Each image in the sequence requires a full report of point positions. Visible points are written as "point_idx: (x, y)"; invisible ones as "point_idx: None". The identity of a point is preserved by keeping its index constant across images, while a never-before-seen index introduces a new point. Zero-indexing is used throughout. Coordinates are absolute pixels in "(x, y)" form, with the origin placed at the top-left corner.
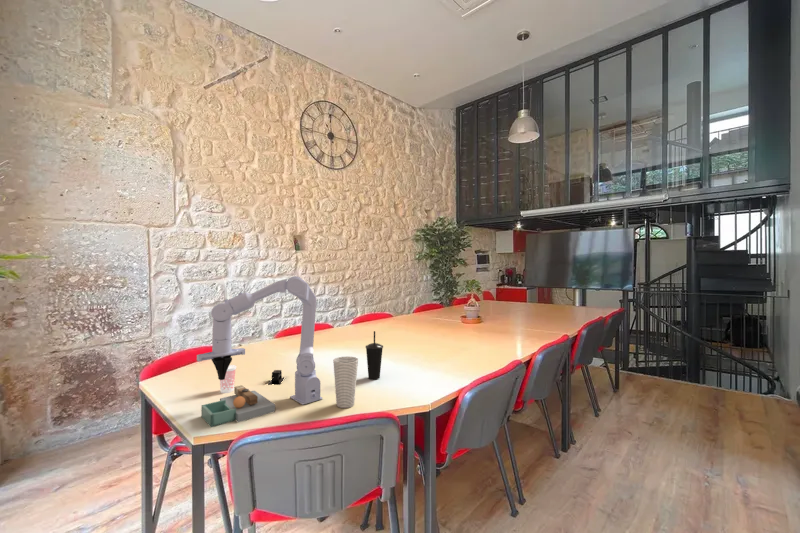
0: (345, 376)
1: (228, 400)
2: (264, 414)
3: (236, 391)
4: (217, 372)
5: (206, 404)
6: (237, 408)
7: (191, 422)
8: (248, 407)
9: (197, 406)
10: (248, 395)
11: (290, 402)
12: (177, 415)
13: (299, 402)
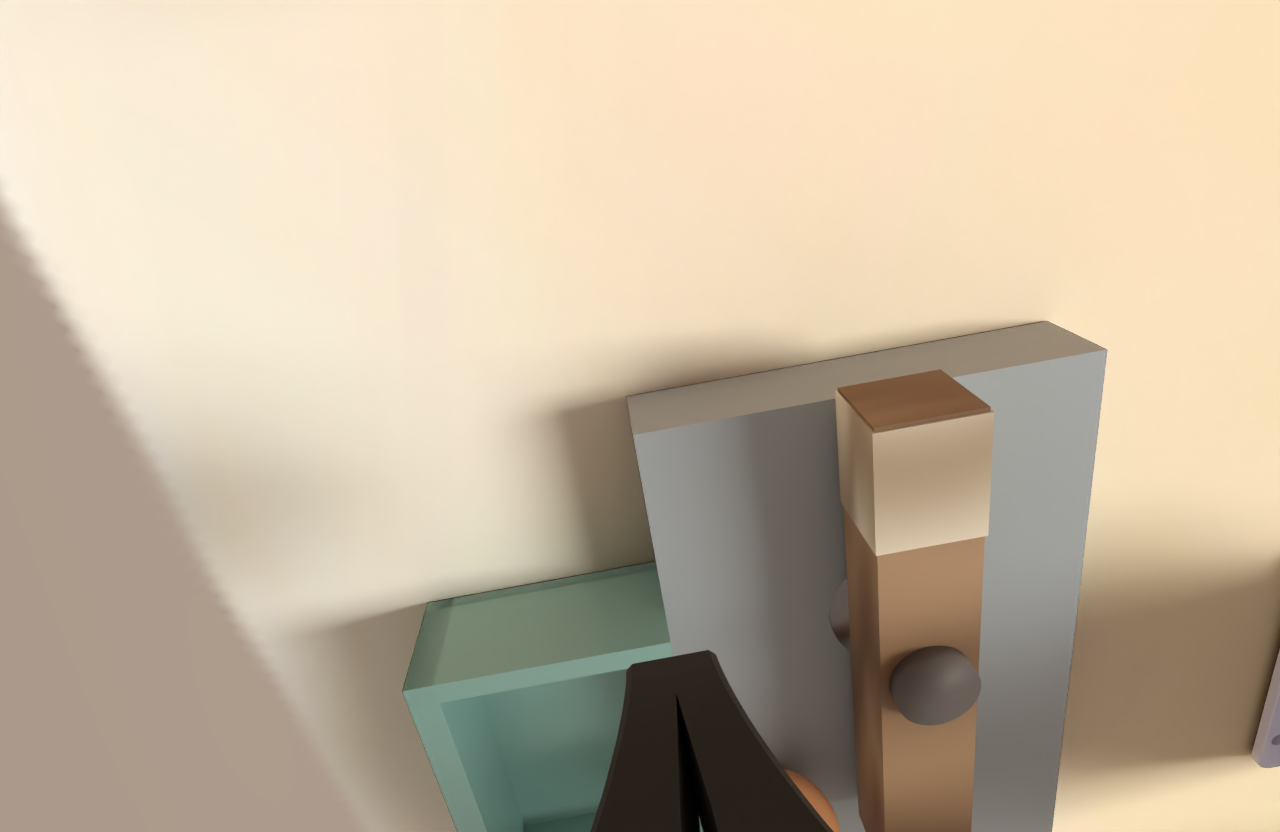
0: None
1: (714, 559)
2: None
3: (856, 499)
4: (614, 782)
5: (456, 691)
6: None
7: (346, 687)
8: (835, 812)
9: (365, 272)
10: (903, 815)
11: (1222, 656)
12: (166, 455)
13: (1263, 725)
